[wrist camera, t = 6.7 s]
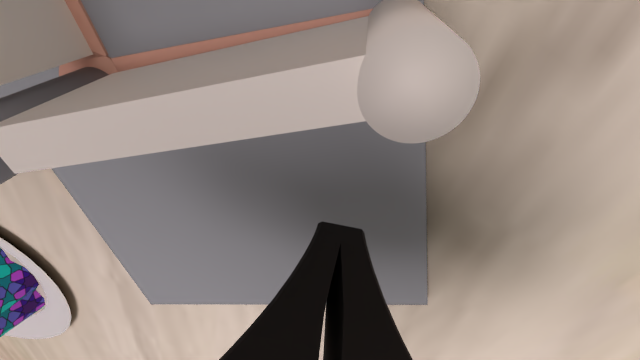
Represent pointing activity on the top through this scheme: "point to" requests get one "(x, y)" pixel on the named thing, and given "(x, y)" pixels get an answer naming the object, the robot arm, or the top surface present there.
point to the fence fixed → (39, 55)
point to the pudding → (29, 299)
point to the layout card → (241, 168)
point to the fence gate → (262, 93)
